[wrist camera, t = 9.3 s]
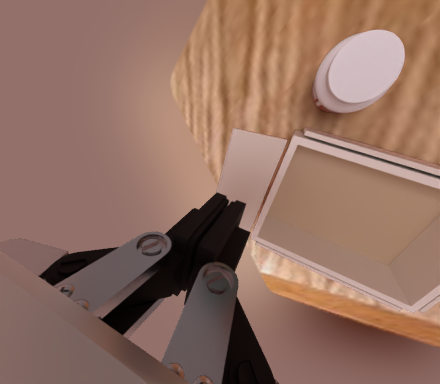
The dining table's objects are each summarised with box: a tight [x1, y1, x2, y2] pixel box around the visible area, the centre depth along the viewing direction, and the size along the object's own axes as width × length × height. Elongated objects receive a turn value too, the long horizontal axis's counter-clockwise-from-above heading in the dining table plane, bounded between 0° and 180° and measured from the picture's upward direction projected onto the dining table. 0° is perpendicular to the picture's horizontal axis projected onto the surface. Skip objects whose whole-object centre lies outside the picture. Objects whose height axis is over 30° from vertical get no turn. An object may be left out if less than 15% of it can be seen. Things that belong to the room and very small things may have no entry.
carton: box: [251, 127, 440, 313], centre depth 25 cm, size 22×17×8 cm
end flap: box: [216, 127, 287, 232], centre depth 23 cm, size 1×14×6 cm
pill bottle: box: [312, 30, 405, 113], centre depth 18 cm, size 6×6×11 cm
